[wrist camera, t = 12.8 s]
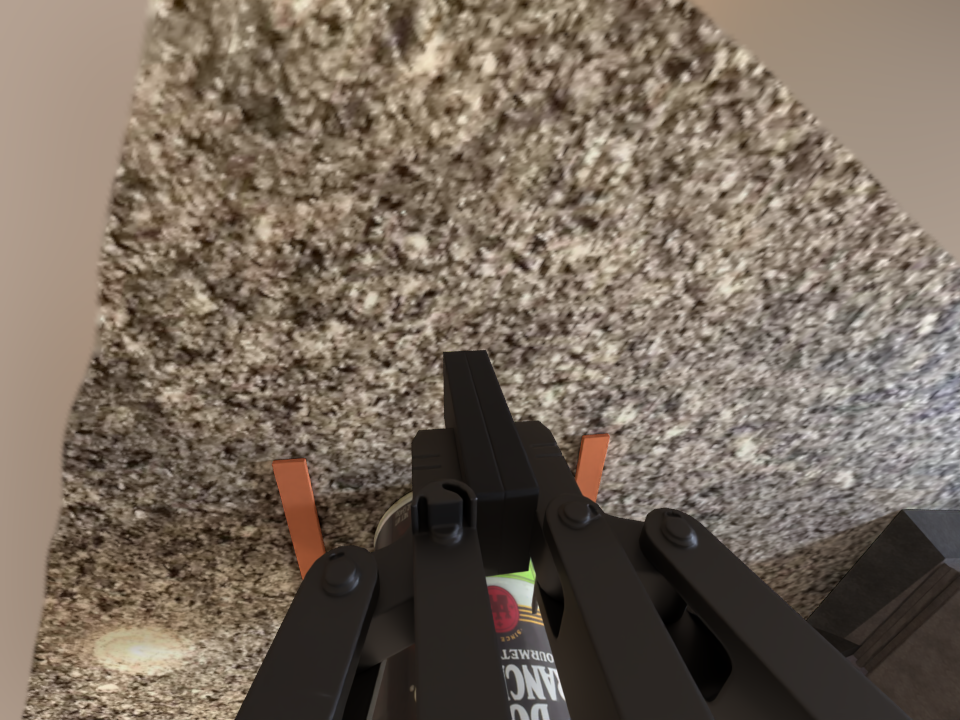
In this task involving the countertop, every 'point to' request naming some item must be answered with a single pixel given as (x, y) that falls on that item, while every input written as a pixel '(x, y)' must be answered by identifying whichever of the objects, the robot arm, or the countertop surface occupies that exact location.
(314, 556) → the strips
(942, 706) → the machine
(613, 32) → the countertop surface
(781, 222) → the countertop surface
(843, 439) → the countertop surface
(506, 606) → the coffee can
